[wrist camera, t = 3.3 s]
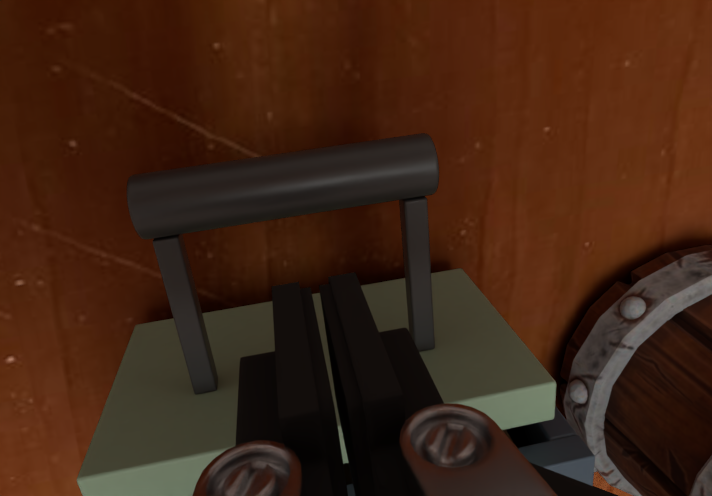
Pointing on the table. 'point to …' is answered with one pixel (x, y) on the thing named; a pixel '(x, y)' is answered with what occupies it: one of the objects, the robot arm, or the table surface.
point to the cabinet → (551, 449)
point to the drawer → (255, 322)
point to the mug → (647, 378)
